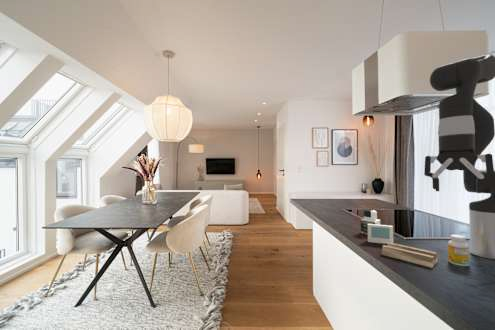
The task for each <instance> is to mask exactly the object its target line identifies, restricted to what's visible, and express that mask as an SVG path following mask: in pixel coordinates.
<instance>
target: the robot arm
mask: <svg viewBox="0 0 495 330" xmlns="http://www.w3.org/2000/svg"><path fill="white" fill-rule="evenodd" d="M494 78H495V56H494V55H493V54H484V55H480V56H476V57H469V58H465V59H461V60H458V61H455V62H451V63H448V64H444V65H443V64H442V65H440V66H438V67H436V68H435V69H434V70H433V71H432V72H431V74H430V76H429V84H430V86H431V87H432V89H433V90H435V91H437V92H443V91H449V90H454V89H455V93H454V94H453V95H449V96H447V97H445V98H443V99H441V100H440V101H439V103H438V119H439V121H438V128H437V129H438V131H437V135H438V136H437V137H438V154H437V155H436V156H435V155H433V156H431V155H426V156H425V157H424V176H425V177H429V178H431V179H432V189H433V190H435V192H440V178H439V177H440V175H441V174H442V173H443V172H444V171H445V170H448V171H456V170H458V171H463V172H462V173H463V175H462V176H463V186H464V189H465V190H466V192H469V193H476V194H490V196H488V197H487V198H484V199H481V200H474V201H471V202H469V207H468V208H469V209H468V211H469V214H468V215H469V252H470V254H472V255H475V256H476V257H479V258H480V257H481V258H485V259H491V260H495V169H494V159H493V155H492V153H485V154H482V153H483V152H484V151H485V150H486V148H487V147H488V146H489V145H490V144H491V142H492V141H493V139H494V138H495V119H494V117H493V115H492V114H491V113H490V112H489V110H487V109H486V108H485V107H483V105H481V104H480V103H479V102H478V101H477V100H476V99H475V97H474V96H475V93H476V92H475V91H476V89H477V88H476V87H477V85H478V84H484V83H487V82H489V81H492V80H493V79H494ZM436 160H437V162H438V163H439V164H441V166H439V168H438V169H437V170H436V171H435V172H431V168H432V165H431V164H433V163H435V161H436ZM478 160H480V161H481V162H482V163H485V169H479V168H478V169H477V168H476V163H477V161H478Z"/></svg>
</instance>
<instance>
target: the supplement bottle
mask: <svg viewBox="0 0 495 330" xmlns="http://www.w3.org/2000/svg"><path fill="white" fill-rule="evenodd" d="M466 241H467V239H466V236H464V235H459V234H450V240H448V243H447V244H448V245H447V247H448V248H447V251H448V252H447V253H448V262H449V263H451V264H453V265H455V266H460V267H468V266H469V265H470V259H469V258H470V254H469V252H470V246H469V244H468V243H467V242H466Z"/></svg>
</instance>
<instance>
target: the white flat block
mask: <svg viewBox="0 0 495 330" xmlns="http://www.w3.org/2000/svg"><path fill="white" fill-rule="evenodd" d="M367 242H368V243H376V244H383V245H385V244H386V245H387V243H388V242H390V243H394V226H393V225H390V224H389V225H388V224H380V225H378V224H368V234H367Z"/></svg>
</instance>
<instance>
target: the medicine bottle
mask: <svg viewBox="0 0 495 330" xmlns="http://www.w3.org/2000/svg"><path fill="white" fill-rule="evenodd" d="M368 224H378V225H381V219H378V212H377V211H376V210H374V209H364V210H363V218H361V219H360V233H361V234H364V233H365V235H368Z"/></svg>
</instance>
